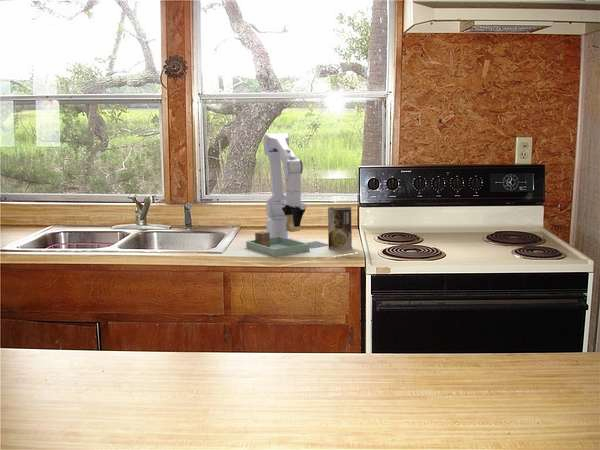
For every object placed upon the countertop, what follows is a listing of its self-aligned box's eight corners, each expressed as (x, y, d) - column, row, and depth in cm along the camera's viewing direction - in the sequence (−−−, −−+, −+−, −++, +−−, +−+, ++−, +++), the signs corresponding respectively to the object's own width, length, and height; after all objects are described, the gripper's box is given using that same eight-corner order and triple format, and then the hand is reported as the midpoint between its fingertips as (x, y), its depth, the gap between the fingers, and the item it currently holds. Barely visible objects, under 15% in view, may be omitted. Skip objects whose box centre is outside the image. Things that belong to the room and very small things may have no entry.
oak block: (286, 230, 251) (285, 215, 249) (294, 229, 253) (294, 213, 252) (291, 232, 247) (291, 216, 246) (300, 230, 250) (300, 215, 249)
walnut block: (255, 247, 252) (255, 232, 251) (262, 246, 255) (262, 231, 254) (262, 249, 250) (262, 233, 249) (269, 247, 253) (269, 232, 252)
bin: (246, 249, 253) (246, 241, 252) (280, 243, 262) (280, 236, 261) (274, 258, 237) (274, 249, 236) (309, 252, 246) (309, 244, 245)
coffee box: (351, 247, 254) (351, 206, 252) (351, 250, 248) (351, 209, 245) (328, 247, 255) (328, 206, 252) (327, 250, 249) (327, 209, 246)
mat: (296, 245, 258) (296, 244, 258) (316, 242, 264) (316, 241, 264) (311, 249, 250) (311, 248, 250) (331, 246, 256) (331, 245, 256)
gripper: (274, 189, 251) (274, 224, 254) (295, 193, 239) (295, 229, 242) (289, 188, 255) (289, 222, 258) (310, 192, 243) (311, 227, 246)
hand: (293, 225), depth 250 cm, fingers closed on oak block, 4 cm apart
